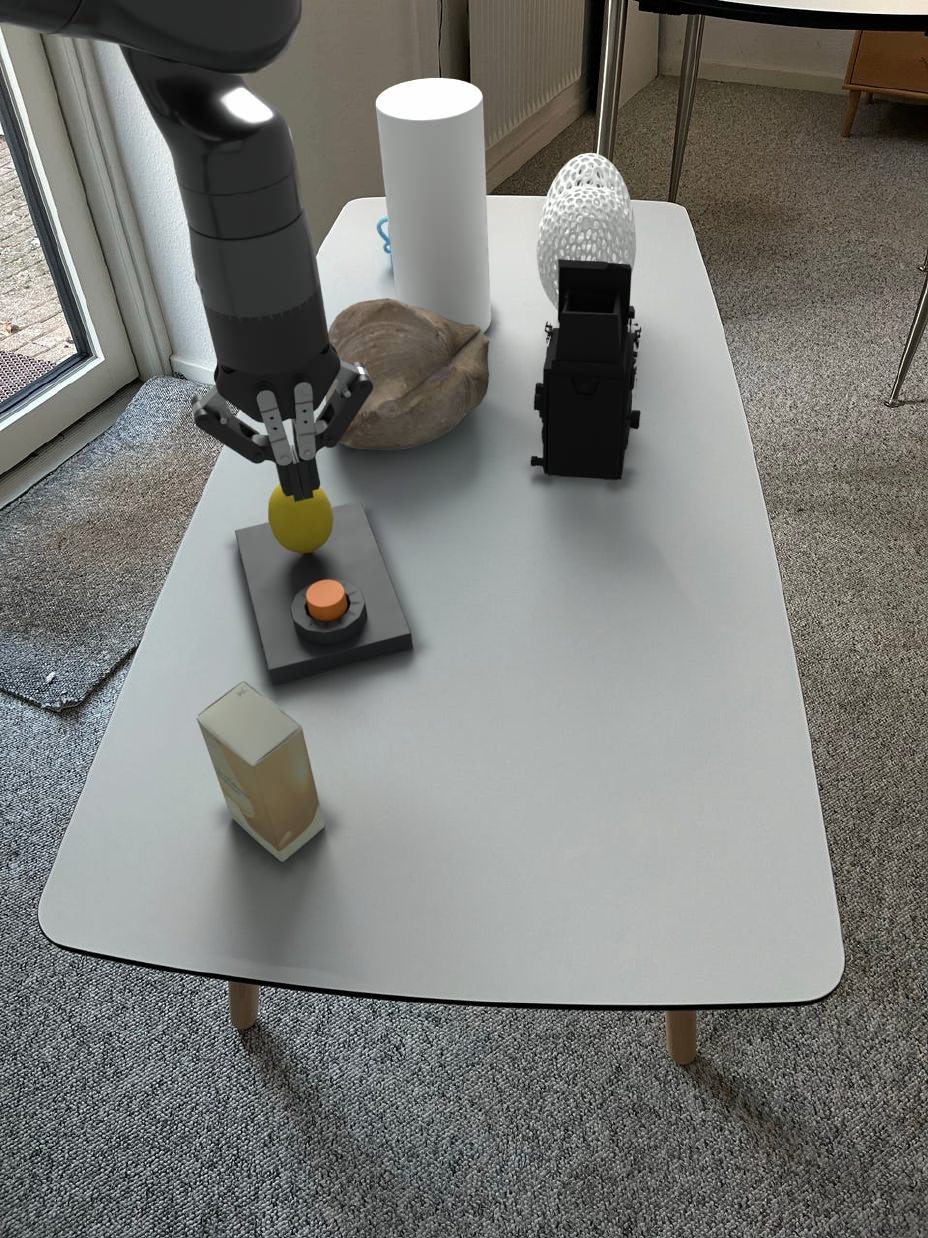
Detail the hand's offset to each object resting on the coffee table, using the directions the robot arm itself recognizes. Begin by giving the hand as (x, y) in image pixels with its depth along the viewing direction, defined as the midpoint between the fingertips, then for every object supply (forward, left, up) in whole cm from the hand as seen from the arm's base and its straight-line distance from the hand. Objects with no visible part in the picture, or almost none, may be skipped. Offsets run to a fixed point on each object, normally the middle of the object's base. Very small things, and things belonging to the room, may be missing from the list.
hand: (302, 493), depth 80 cm
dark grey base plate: (0, +5, -16) cm, 16 cm away
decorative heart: (+38, +38, -16) cm, 56 cm away
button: (0, 0, -13) cm, 13 cm away
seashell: (+14, +27, -16) cm, 34 cm away
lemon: (0, +9, -14) cm, 17 cm away
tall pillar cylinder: (+23, +44, -16) cm, 52 cm away
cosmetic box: (-8, -17, -16) cm, 25 cm away
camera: (+30, +17, -16) cm, 38 cm away
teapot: (+25, +58, -16) cm, 65 cm away
